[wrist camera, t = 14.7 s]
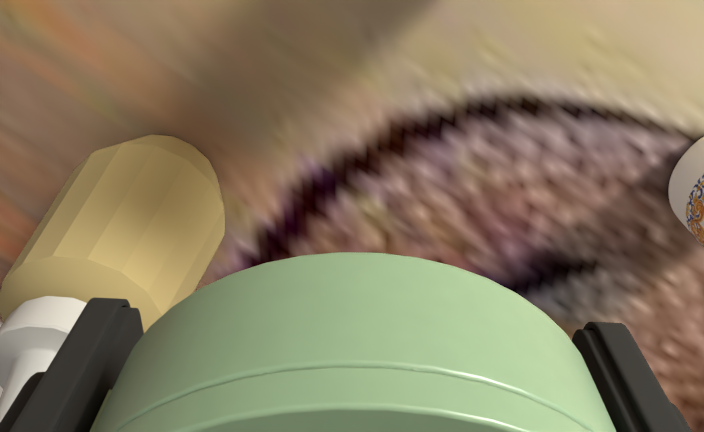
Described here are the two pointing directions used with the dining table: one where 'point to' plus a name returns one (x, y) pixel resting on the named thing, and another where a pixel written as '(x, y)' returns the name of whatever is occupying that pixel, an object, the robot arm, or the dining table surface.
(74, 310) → the squeeze bottle
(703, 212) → the bath foam
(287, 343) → the lid
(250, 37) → the dining table surface
